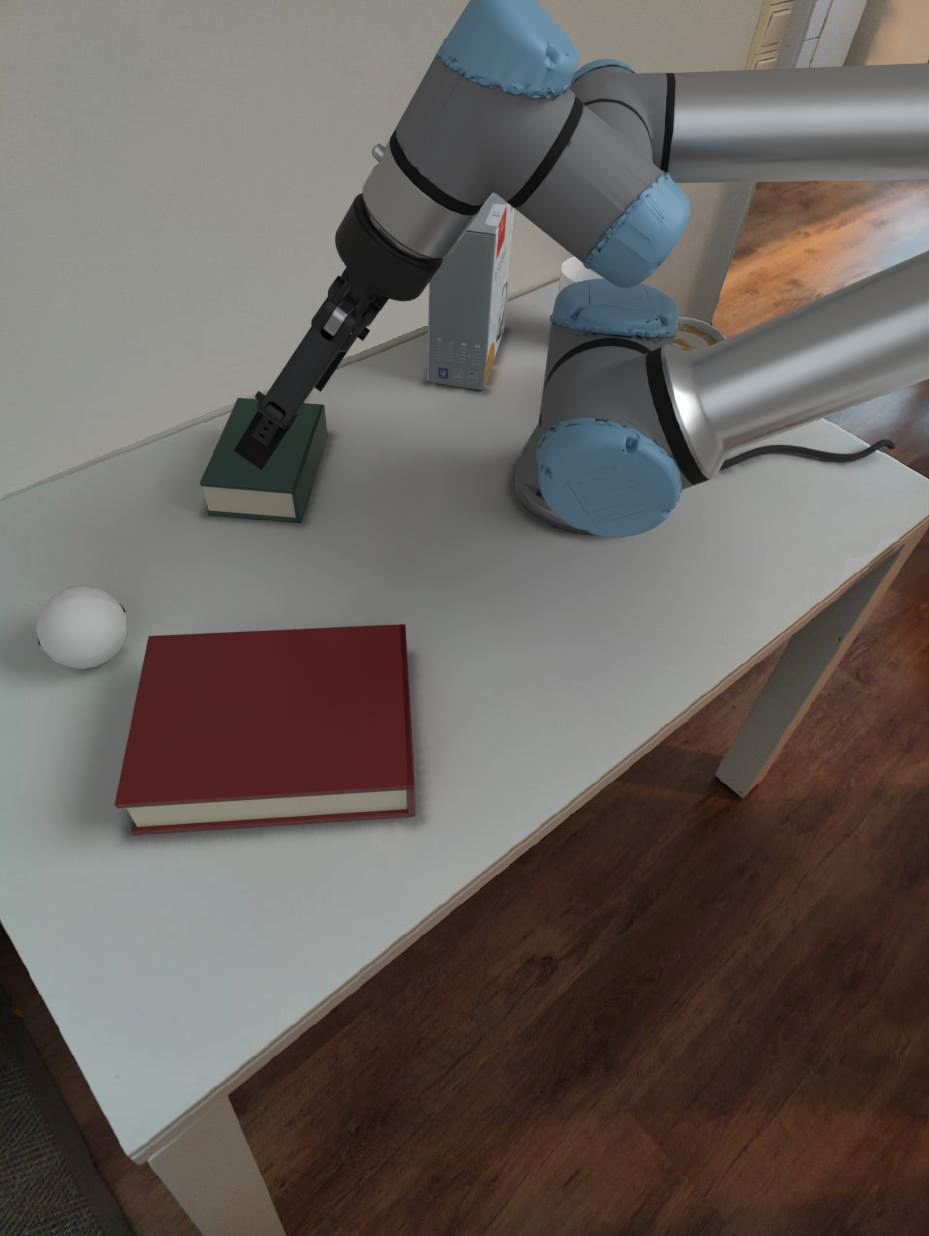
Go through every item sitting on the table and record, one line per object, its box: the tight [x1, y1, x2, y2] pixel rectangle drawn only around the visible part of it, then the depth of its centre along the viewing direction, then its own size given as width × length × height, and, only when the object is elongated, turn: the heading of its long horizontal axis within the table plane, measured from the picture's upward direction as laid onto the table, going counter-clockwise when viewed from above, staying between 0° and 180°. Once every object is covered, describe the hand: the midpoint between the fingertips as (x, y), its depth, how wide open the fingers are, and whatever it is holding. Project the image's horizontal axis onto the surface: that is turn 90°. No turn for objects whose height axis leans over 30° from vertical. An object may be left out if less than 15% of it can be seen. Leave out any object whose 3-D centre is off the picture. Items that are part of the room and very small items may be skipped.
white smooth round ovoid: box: [25, 585, 128, 670], centre depth 73 cm, size 10×7×7 cm
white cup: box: [557, 256, 605, 295], centre depth 109 cm, size 8×8×10 cm
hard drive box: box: [426, 193, 515, 391], centre depth 102 cm, size 16×8×20 cm, turn 168°
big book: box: [113, 623, 417, 836], centre depth 68 cm, size 22×16×5 cm
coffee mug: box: [672, 316, 727, 352], centre depth 98 cm, size 13×10×10 cm
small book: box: [199, 397, 329, 524], centre depth 90 cm, size 10×15×4 cm, turn 175°
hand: (281, 417), depth 73 cm, fingers open, 13 cm apart
